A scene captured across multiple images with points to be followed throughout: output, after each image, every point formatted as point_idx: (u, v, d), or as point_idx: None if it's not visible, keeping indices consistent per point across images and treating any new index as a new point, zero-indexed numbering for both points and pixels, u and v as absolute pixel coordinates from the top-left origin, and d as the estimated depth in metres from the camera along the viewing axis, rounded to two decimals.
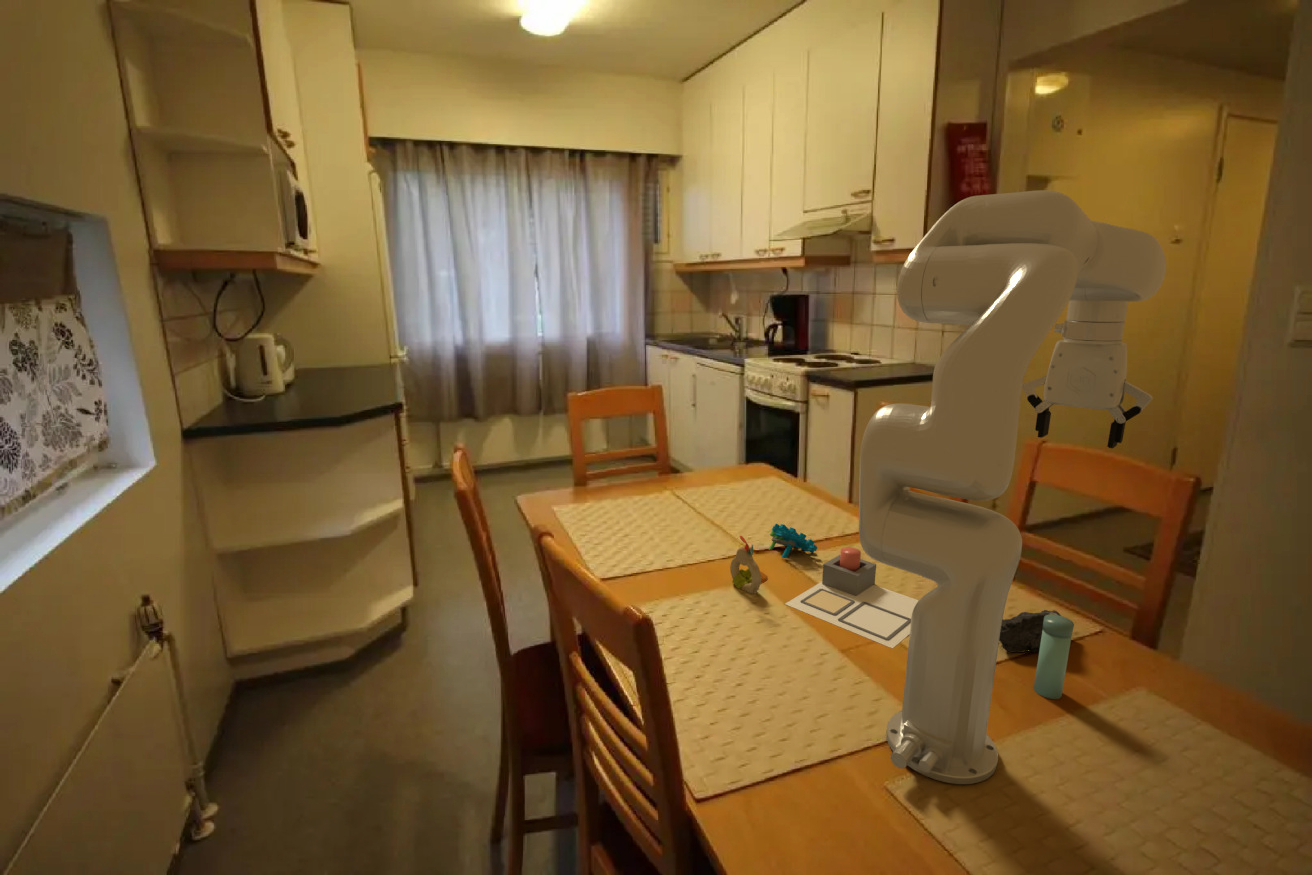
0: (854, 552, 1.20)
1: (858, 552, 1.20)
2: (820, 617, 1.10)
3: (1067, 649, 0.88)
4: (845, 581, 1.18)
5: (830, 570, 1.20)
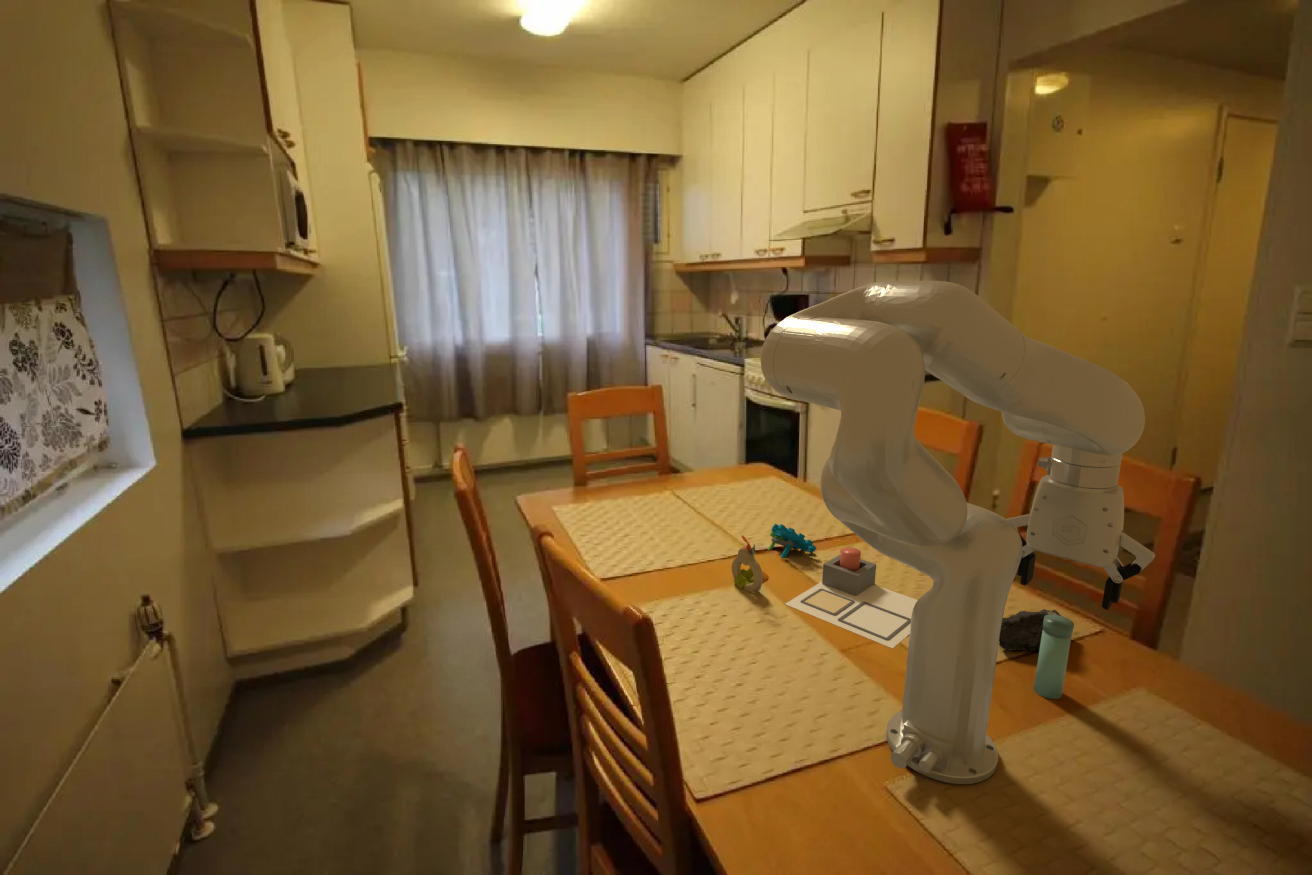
0: (854, 552, 1.20)
1: (858, 552, 1.20)
2: (820, 617, 1.10)
3: (1067, 649, 0.88)
4: (845, 581, 1.18)
5: (830, 570, 1.20)
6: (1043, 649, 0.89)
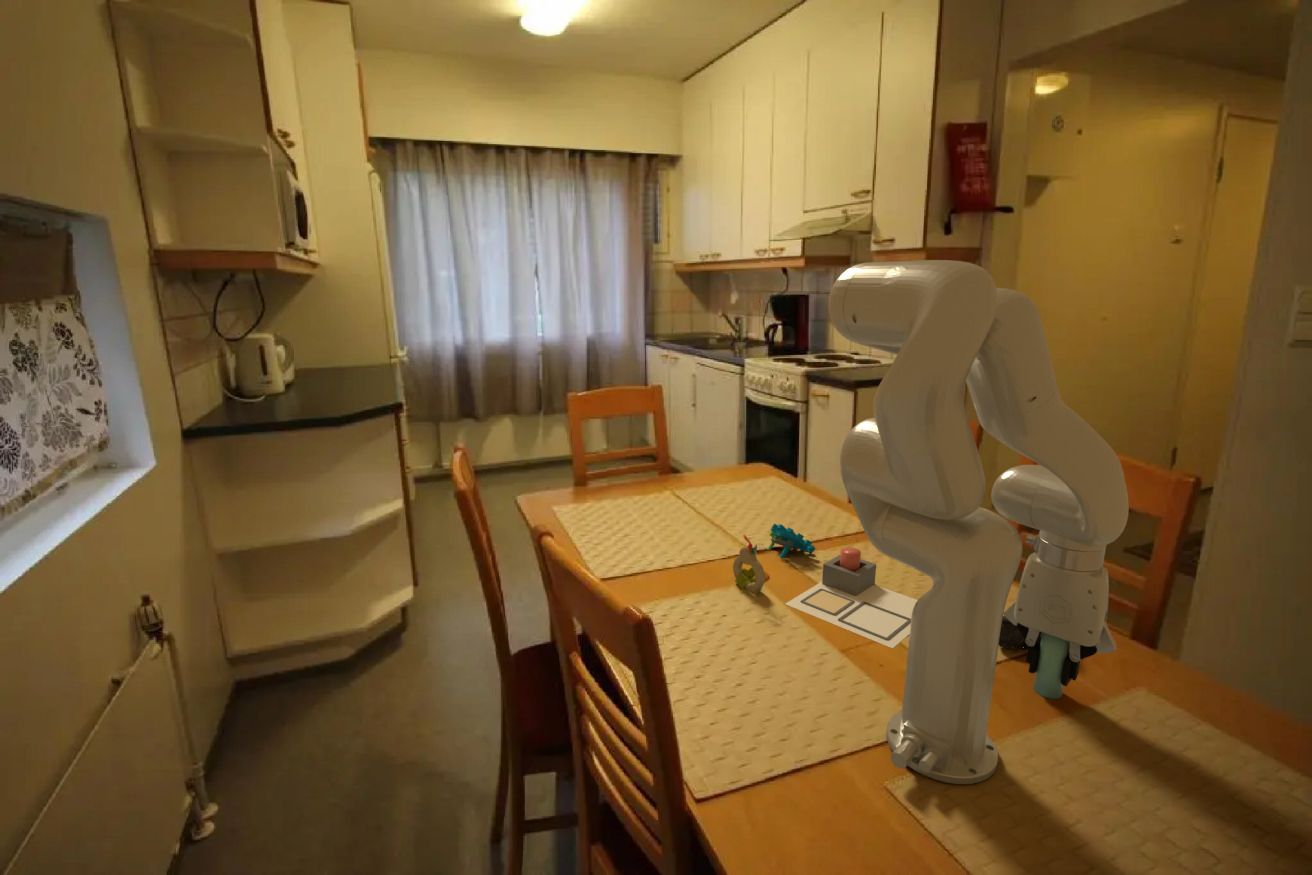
0: (854, 552, 1.20)
1: (858, 552, 1.20)
2: (820, 617, 1.10)
3: (1067, 649, 0.88)
4: (845, 581, 1.18)
5: (830, 570, 1.20)
6: (1043, 649, 0.89)
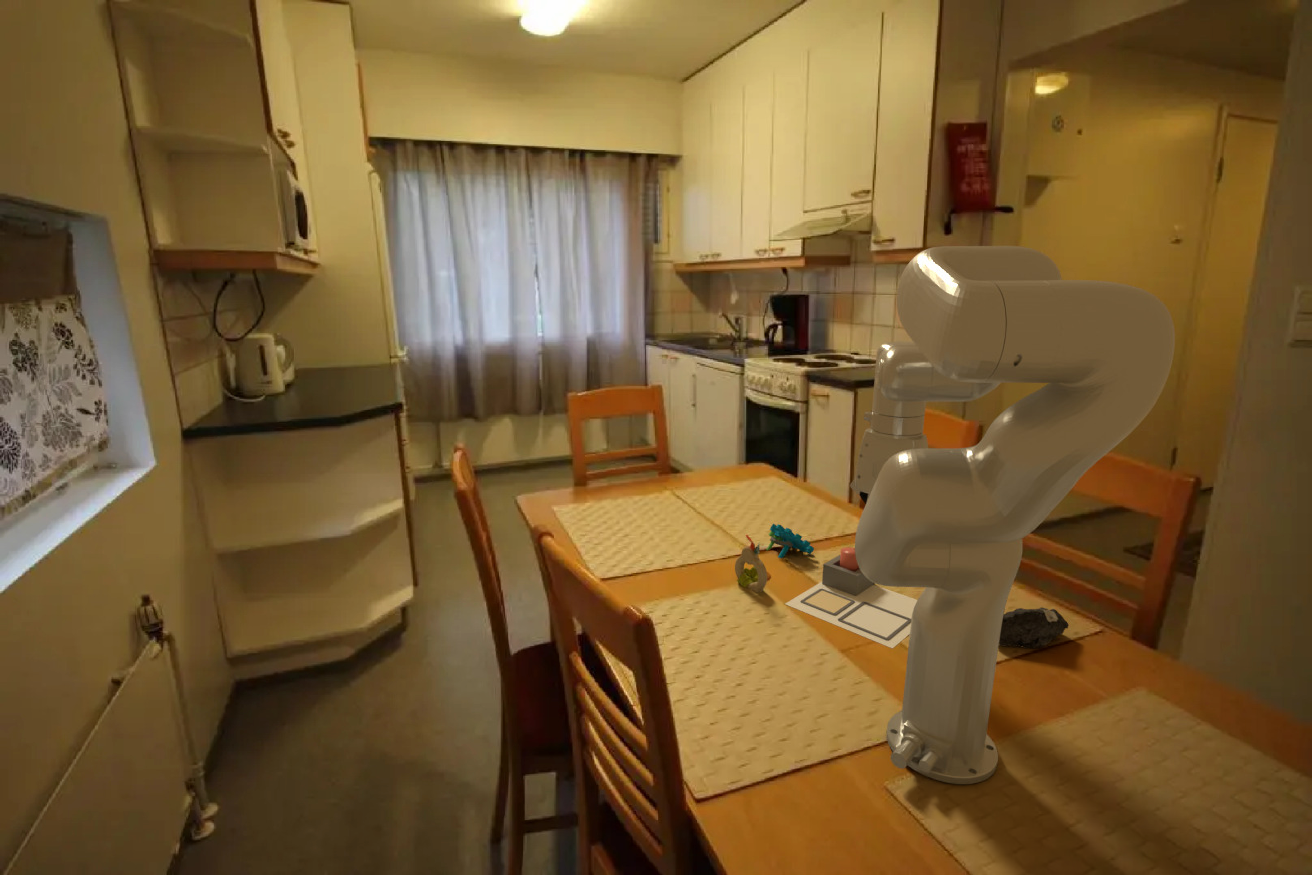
0: (854, 552, 1.20)
1: None
2: (820, 617, 1.10)
3: None
4: (845, 581, 1.18)
5: (830, 570, 1.20)
6: None
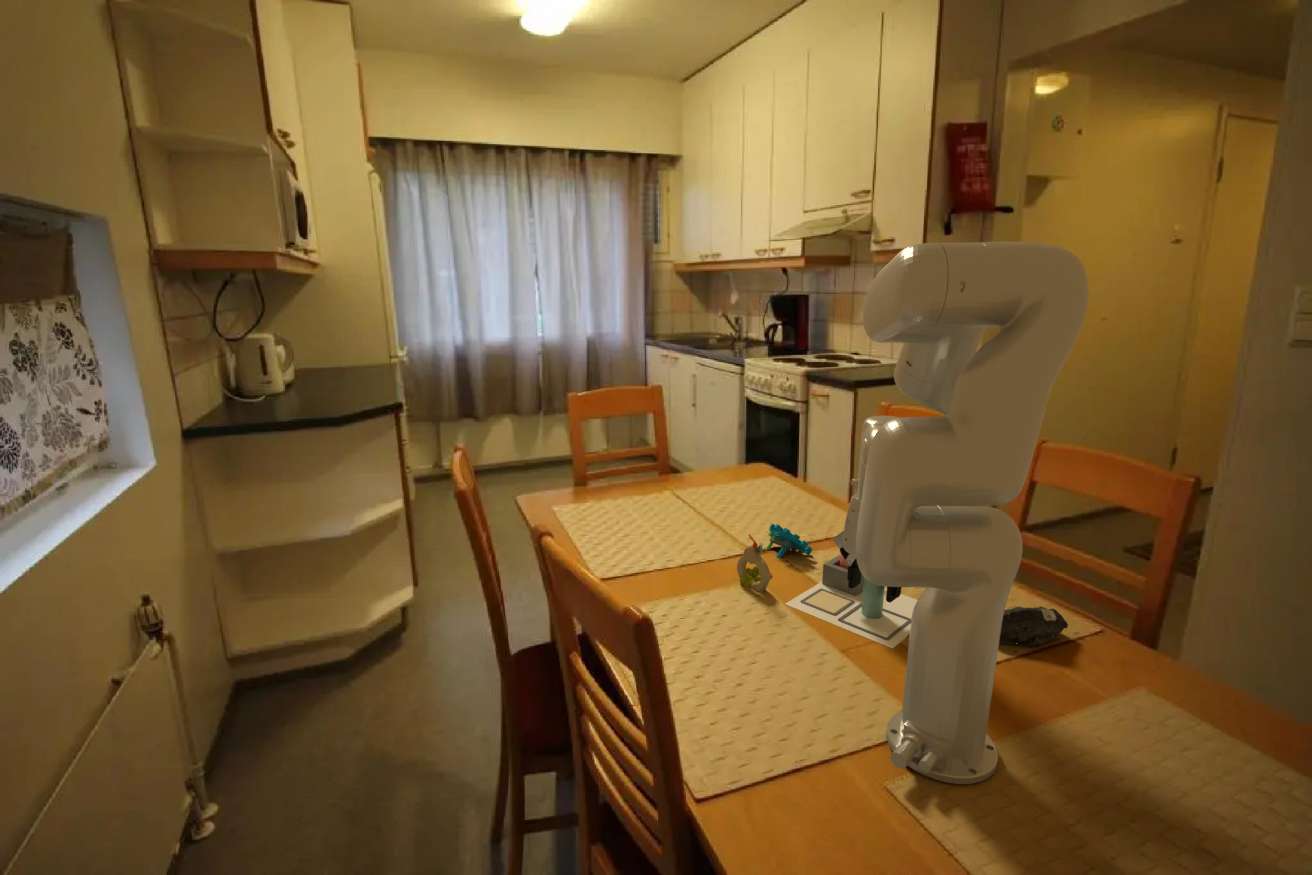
0: None
1: None
2: (820, 617, 1.10)
3: None
4: (845, 581, 1.18)
5: (830, 570, 1.20)
6: None
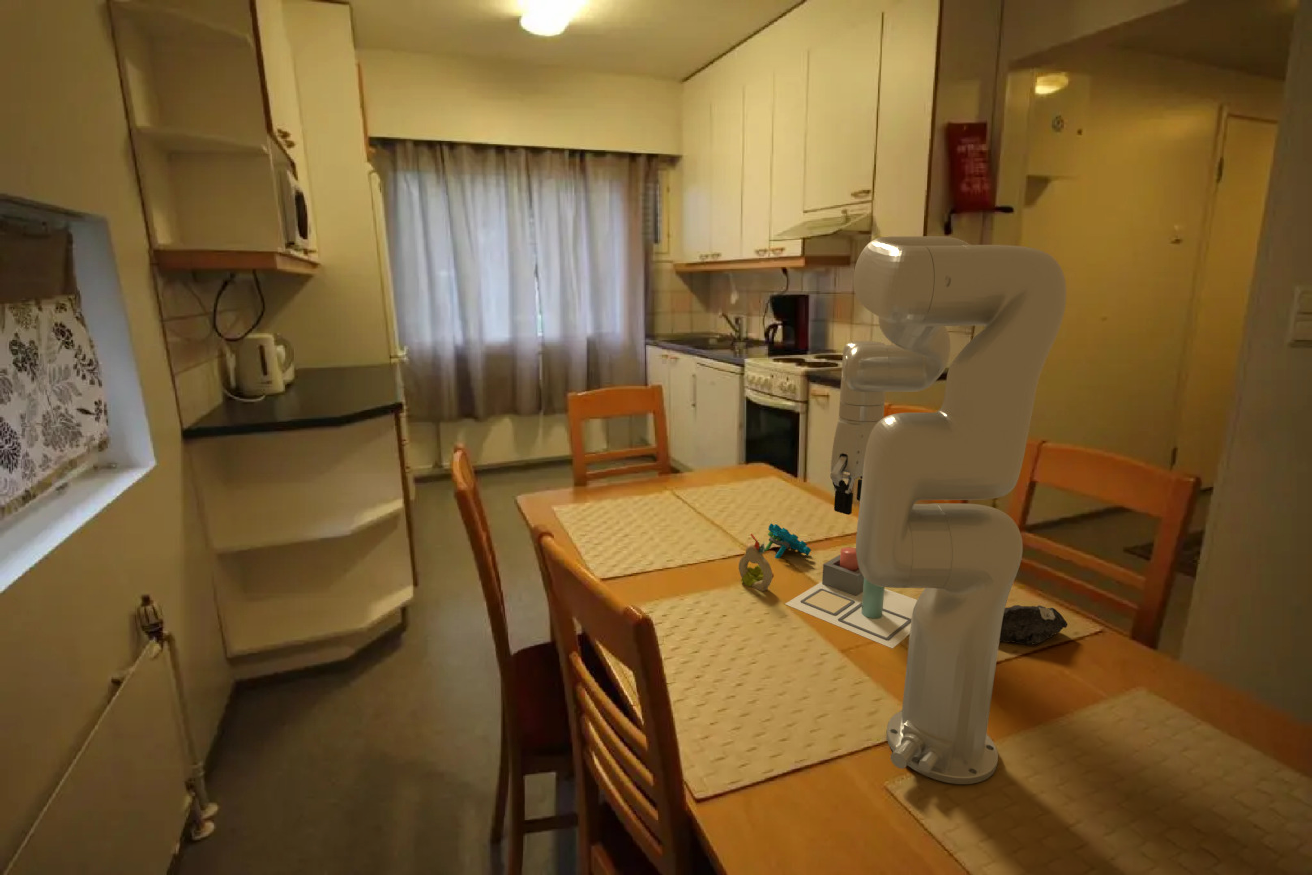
0: (854, 552, 1.20)
1: None
2: (820, 617, 1.10)
3: None
4: (845, 581, 1.18)
5: (830, 570, 1.20)
6: None
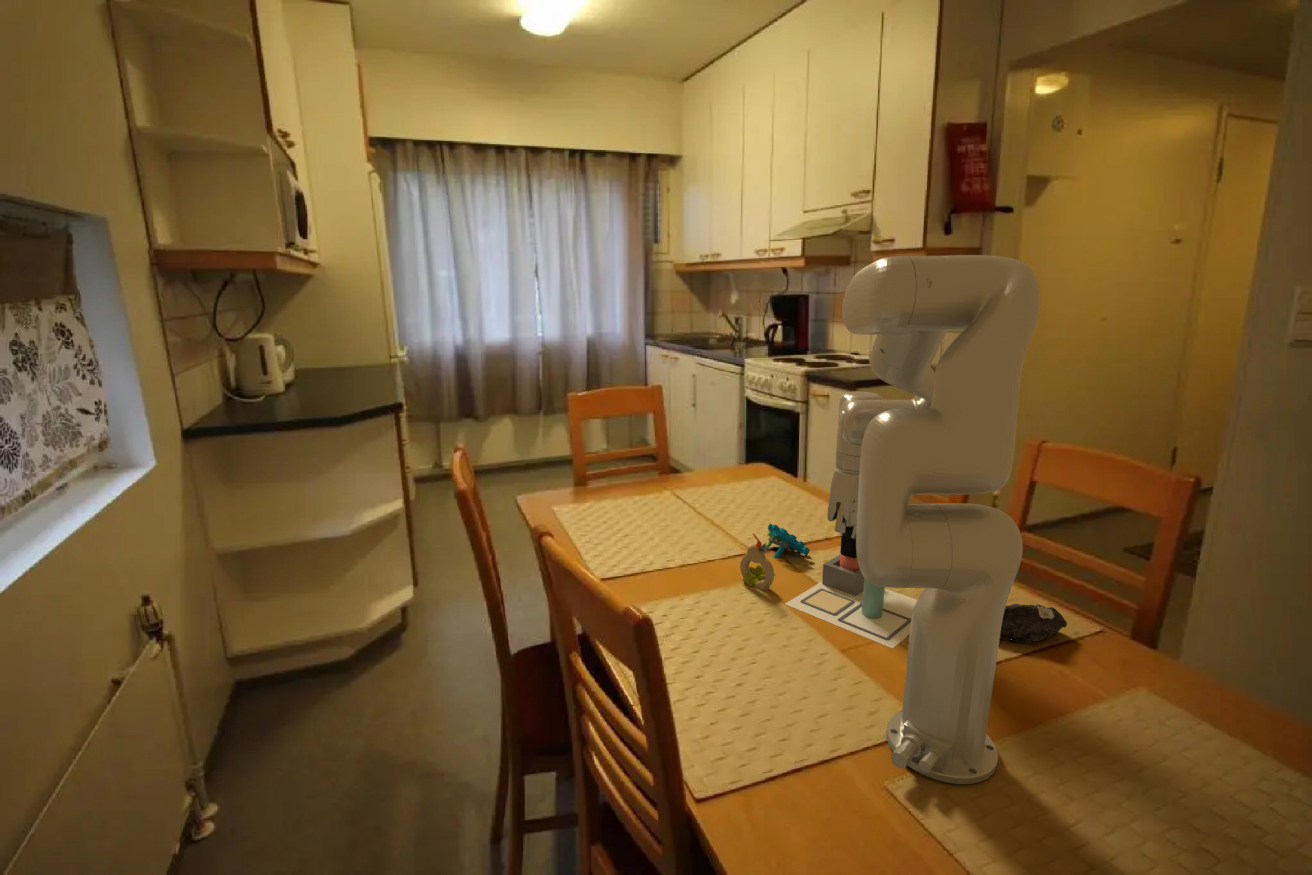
0: None
1: None
2: (820, 617, 1.10)
3: None
4: (845, 581, 1.18)
5: (830, 570, 1.20)
6: None
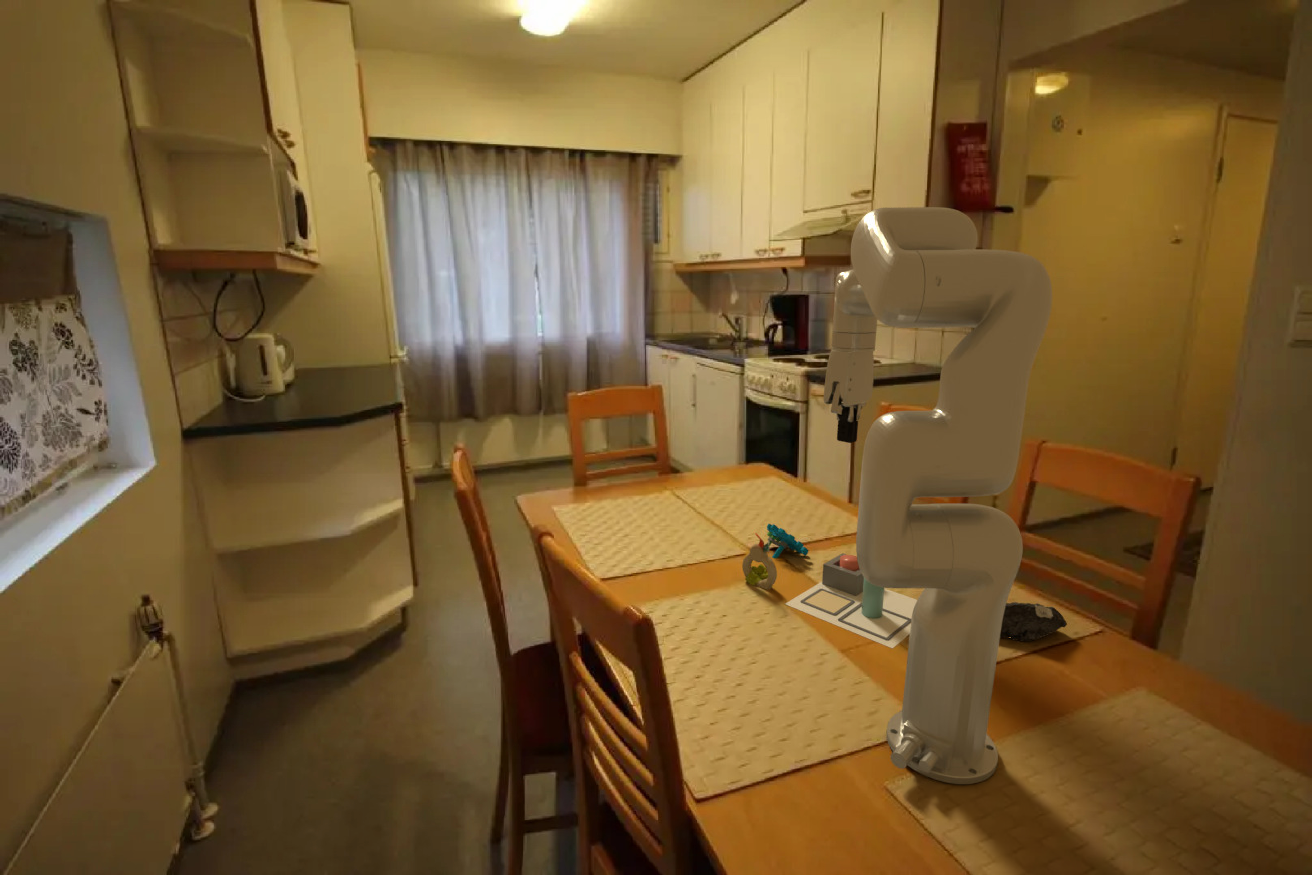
0: (853, 559, 1.20)
1: None
2: (820, 617, 1.10)
3: None
4: (845, 581, 1.18)
5: (830, 570, 1.20)
6: None
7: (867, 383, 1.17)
